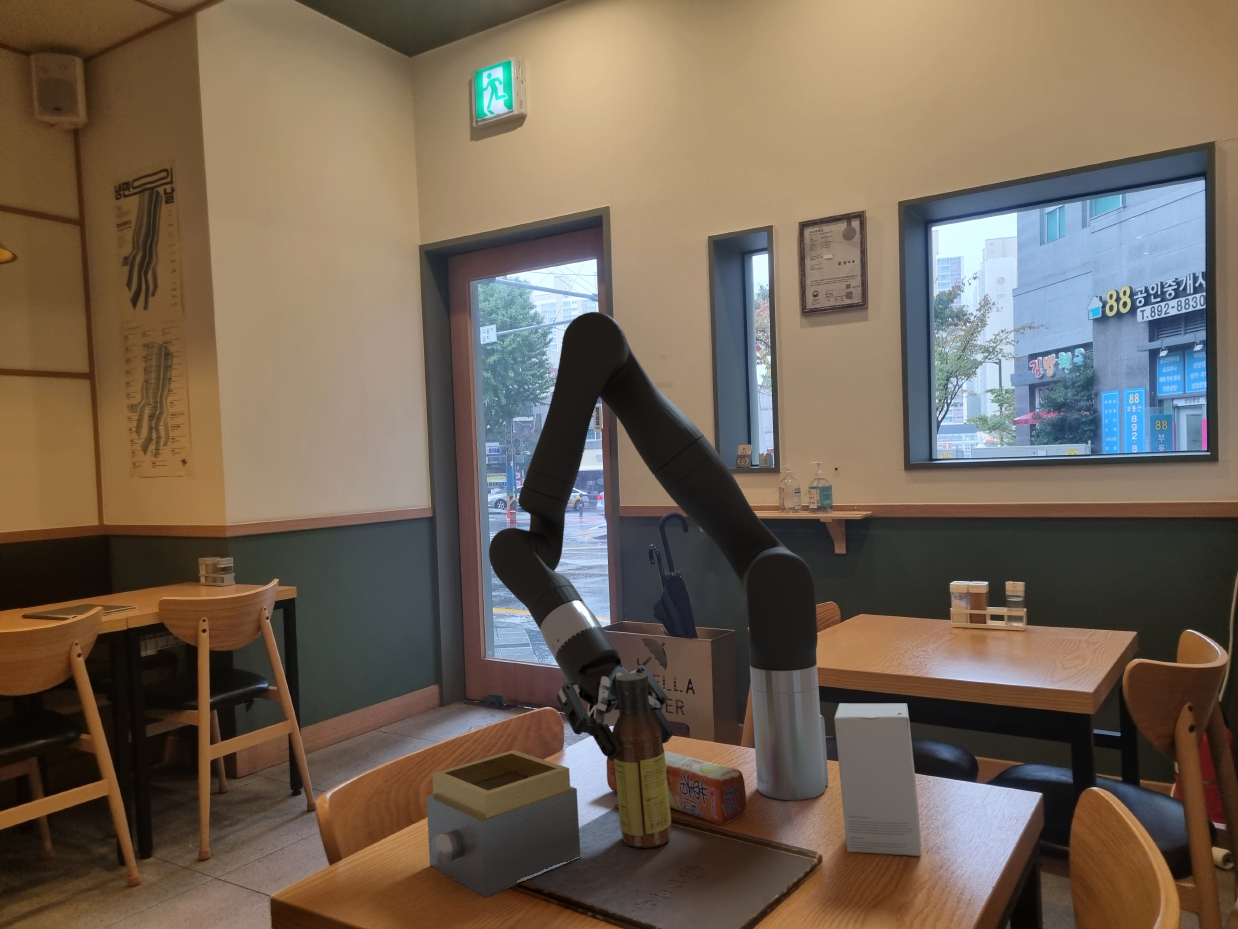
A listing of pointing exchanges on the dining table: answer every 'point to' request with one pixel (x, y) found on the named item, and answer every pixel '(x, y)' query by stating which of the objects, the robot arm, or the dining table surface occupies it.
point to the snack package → (699, 788)
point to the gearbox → (501, 820)
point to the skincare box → (877, 779)
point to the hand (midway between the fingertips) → (643, 747)
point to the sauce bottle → (640, 767)
